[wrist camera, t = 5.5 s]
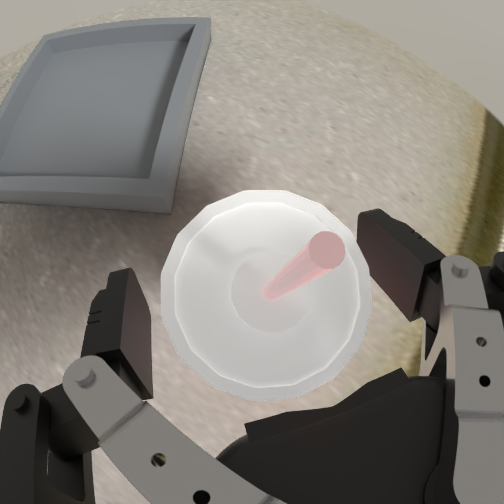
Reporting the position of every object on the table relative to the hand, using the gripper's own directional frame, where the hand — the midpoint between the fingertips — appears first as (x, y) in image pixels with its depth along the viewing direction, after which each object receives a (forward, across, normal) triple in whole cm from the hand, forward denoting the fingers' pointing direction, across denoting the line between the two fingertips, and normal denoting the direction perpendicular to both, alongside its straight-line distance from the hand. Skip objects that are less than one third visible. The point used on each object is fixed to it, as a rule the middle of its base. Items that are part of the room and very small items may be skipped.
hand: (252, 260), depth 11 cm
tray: (+16, +8, -6) cm, 19 cm away
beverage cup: (+4, 0, +6) cm, 7 cm away
